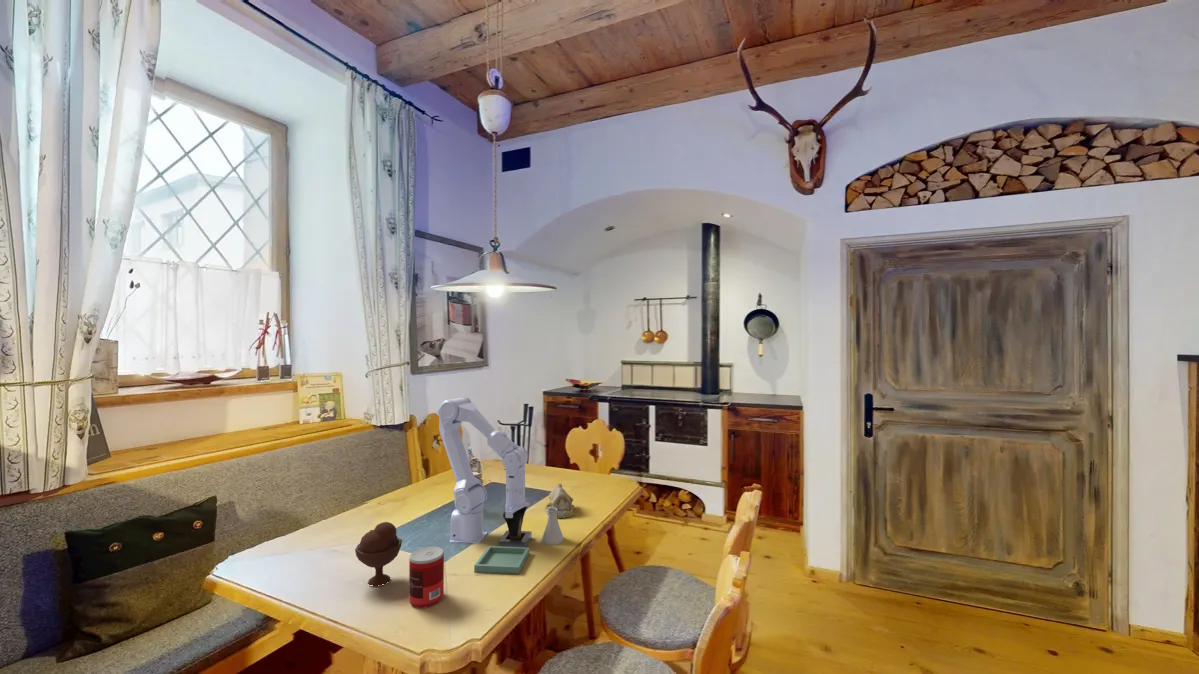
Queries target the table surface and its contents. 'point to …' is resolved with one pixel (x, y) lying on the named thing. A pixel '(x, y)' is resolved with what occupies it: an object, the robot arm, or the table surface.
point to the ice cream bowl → (379, 550)
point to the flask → (552, 529)
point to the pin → (518, 533)
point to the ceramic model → (560, 502)
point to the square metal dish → (507, 542)
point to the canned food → (426, 576)
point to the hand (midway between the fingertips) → (515, 533)
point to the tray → (502, 560)
